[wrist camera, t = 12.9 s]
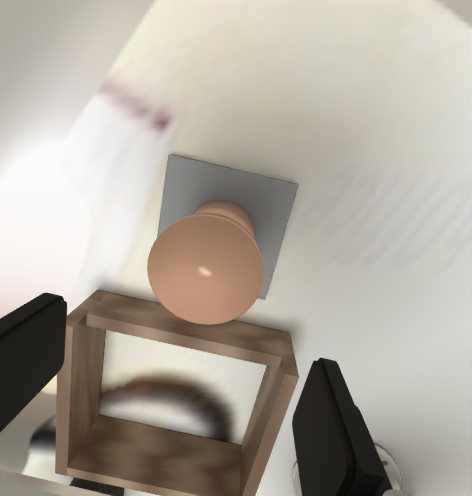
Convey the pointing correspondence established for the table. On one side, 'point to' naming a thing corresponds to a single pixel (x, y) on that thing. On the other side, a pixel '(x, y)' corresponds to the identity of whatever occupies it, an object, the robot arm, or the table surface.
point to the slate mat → (235, 190)
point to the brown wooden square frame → (153, 438)
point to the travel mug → (97, 487)
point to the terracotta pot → (207, 264)
